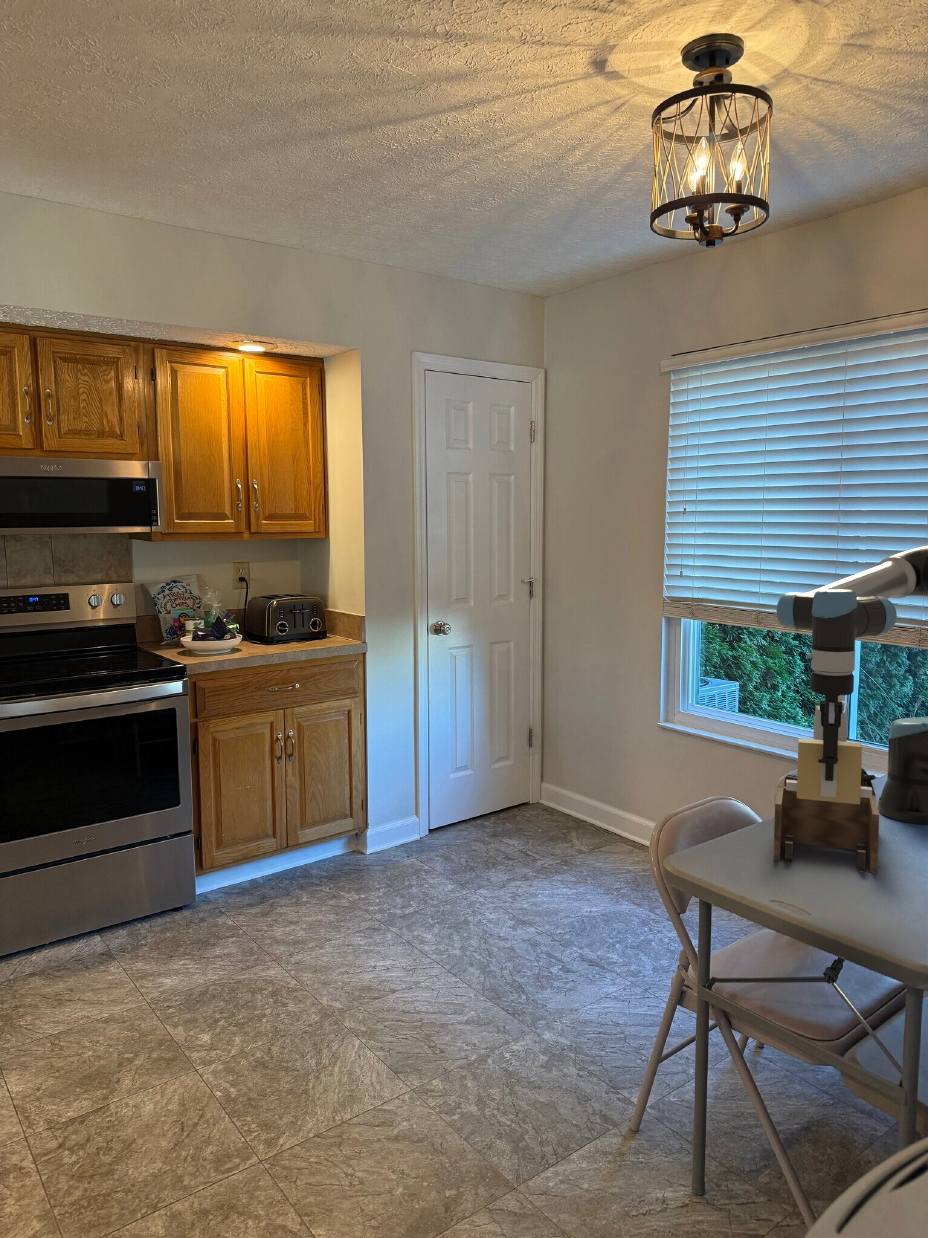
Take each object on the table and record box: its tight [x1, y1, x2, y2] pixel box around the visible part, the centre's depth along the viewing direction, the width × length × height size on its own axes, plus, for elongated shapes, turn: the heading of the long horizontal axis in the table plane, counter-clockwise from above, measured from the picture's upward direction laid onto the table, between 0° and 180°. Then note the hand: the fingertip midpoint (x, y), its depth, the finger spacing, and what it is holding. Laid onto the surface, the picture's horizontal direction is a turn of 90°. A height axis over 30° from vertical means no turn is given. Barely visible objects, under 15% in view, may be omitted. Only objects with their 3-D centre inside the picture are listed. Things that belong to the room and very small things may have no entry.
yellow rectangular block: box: [786, 738, 872, 804], centre depth 163 cm, size 15×3×11 cm, turn 68°
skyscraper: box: [812, 700, 849, 742], centre depth 204 cm, size 8×8×28 cm
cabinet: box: [773, 785, 880, 874], centre depth 180 cm, size 19×13×12 cm
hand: (828, 793), depth 164 cm, fingers closed on yellow rectangular block, 3 cm apart
